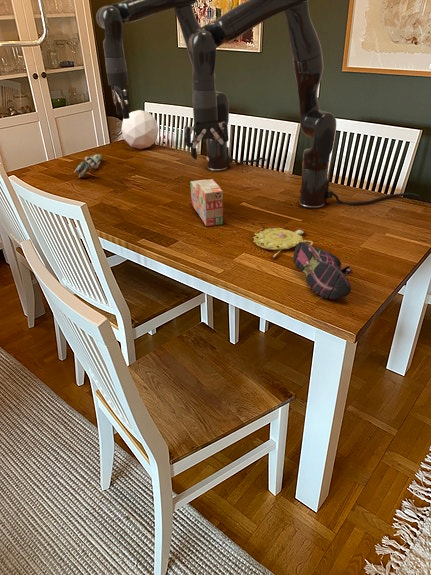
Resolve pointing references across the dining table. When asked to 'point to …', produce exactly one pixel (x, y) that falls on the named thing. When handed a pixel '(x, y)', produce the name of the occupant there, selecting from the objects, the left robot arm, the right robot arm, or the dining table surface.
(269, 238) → the decorative object
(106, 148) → the dining table surface
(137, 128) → the sphere
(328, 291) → the athletic shoe
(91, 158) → the figurine
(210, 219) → the stack of blocks
